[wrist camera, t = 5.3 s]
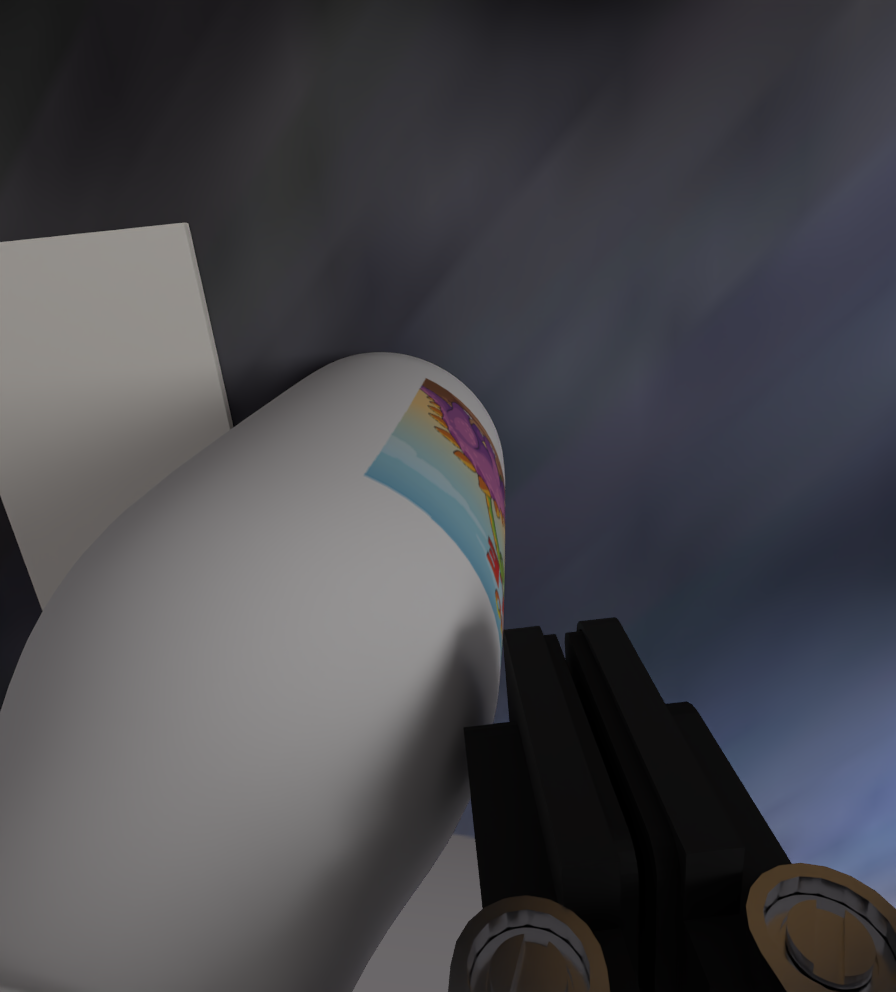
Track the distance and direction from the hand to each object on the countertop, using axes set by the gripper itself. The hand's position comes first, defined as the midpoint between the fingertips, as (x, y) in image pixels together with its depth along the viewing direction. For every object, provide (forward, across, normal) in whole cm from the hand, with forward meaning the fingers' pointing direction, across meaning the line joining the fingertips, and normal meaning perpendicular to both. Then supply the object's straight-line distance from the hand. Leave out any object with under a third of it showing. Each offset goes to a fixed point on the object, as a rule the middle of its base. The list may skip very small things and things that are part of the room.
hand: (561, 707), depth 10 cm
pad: (+14, +12, 0) cm, 18 cm away
